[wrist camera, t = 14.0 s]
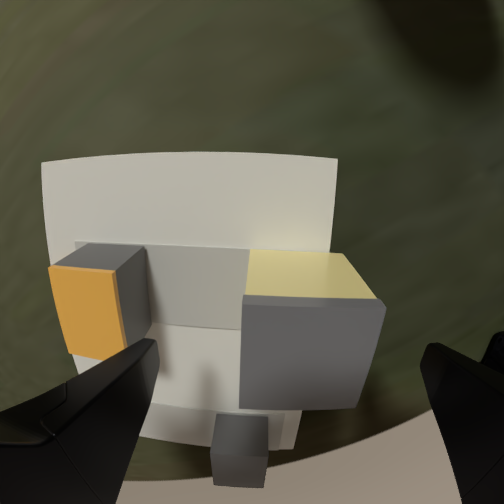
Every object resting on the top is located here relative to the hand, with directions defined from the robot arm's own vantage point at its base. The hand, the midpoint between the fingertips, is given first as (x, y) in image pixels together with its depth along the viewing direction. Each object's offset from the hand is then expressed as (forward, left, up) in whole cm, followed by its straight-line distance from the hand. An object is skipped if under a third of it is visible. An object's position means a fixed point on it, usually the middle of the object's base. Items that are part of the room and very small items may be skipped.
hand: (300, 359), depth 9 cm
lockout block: (0, 0, -5) cm, 5 cm away
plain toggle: (+2, +10, -5) cm, 11 cm away
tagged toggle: (+8, 0, -5) cm, 9 cm away
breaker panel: (+5, +3, -6) cm, 9 cm away
